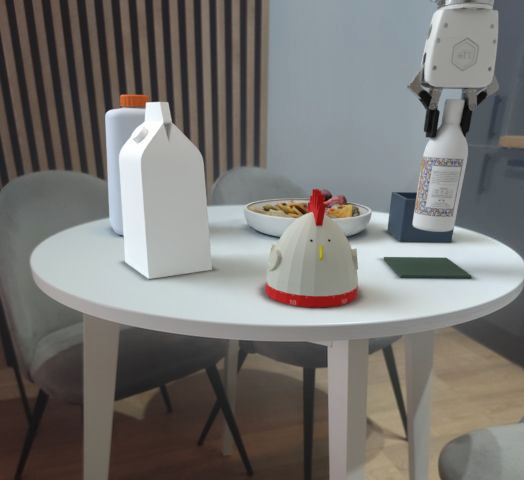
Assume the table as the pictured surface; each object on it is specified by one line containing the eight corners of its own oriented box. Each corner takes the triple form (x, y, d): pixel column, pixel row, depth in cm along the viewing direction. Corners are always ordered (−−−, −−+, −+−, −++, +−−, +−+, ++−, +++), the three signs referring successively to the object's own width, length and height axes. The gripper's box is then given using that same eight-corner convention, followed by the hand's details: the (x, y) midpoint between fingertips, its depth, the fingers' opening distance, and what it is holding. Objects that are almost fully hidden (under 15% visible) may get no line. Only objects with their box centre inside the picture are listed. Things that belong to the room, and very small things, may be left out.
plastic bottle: (184, 234, 112) (178, 95, 100) (116, 238, 107) (100, 92, 95) (170, 222, 125) (163, 97, 113) (108, 225, 120) (93, 95, 108)
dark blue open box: (434, 231, 119) (440, 192, 115) (451, 242, 109) (459, 199, 105) (387, 231, 119) (391, 192, 115) (399, 241, 108) (405, 199, 105)
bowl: (354, 248, 102) (358, 209, 99) (222, 235, 112) (222, 199, 108) (379, 223, 127) (383, 191, 124) (270, 214, 137) (271, 184, 134)
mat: (445, 260, 95) (446, 257, 94) (470, 278, 84) (471, 275, 84) (383, 259, 94) (383, 256, 94) (400, 277, 84) (400, 274, 83)
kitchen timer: (270, 308, 69) (273, 196, 63) (261, 279, 81) (262, 183, 75) (368, 306, 70) (380, 196, 64) (344, 278, 83) (352, 184, 76)
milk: (212, 269, 86) (207, 102, 75) (148, 279, 81) (133, 100, 70) (183, 254, 95) (176, 103, 84) (125, 262, 90) (108, 101, 79)
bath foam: (421, 222, 91) (441, 100, 82) (459, 228, 87) (484, 100, 78) (405, 228, 86) (425, 98, 77) (444, 234, 82) (470, 98, 73)
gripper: (417, -6, 69) (399, 137, 76) (536, -4, 69) (507, 139, 77) (402, 5, 75) (387, 136, 83) (511, 7, 76) (486, 137, 84)
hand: (445, 136), depth 80 cm, fingers closed on bath foam, 4 cm apart
